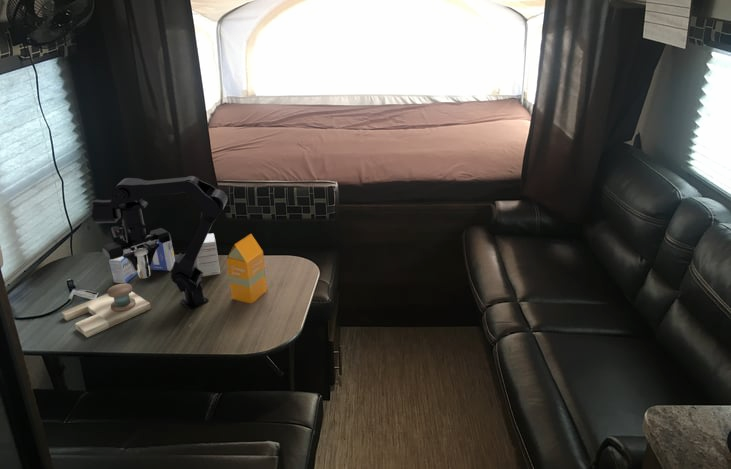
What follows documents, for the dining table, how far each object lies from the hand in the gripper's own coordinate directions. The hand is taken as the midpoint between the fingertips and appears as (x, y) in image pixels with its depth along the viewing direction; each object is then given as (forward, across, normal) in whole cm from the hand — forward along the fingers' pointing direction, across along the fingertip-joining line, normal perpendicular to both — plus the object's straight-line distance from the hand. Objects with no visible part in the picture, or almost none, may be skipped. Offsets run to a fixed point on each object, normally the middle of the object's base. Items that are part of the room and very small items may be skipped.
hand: (142, 268), depth 173 cm
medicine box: (+13, -2, -22) cm, 26 cm away
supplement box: (+13, -24, -6) cm, 28 cm away
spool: (+11, +8, -1) cm, 13 cm away
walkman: (+13, -14, -19) cm, 27 cm away
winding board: (+13, +12, -4) cm, 18 cm away
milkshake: (+3, 0, 0) cm, 3 cm away
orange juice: (+13, -25, +18) cm, 34 cm away
